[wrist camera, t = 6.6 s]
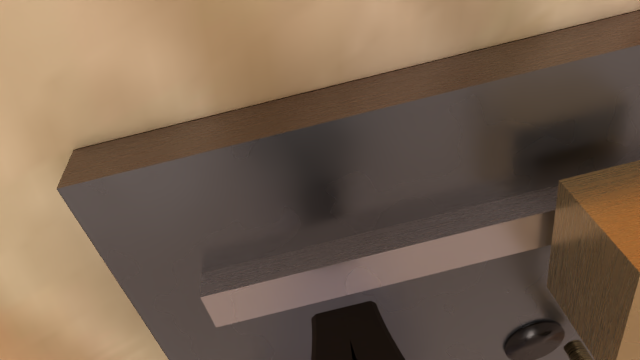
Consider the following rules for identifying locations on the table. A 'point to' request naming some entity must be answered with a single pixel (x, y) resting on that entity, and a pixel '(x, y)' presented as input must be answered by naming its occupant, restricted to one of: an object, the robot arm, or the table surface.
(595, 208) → the brass slider
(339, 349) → the robot arm
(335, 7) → the table surface
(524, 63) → the plate
